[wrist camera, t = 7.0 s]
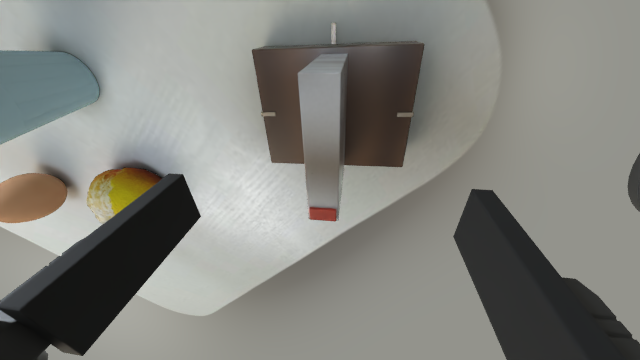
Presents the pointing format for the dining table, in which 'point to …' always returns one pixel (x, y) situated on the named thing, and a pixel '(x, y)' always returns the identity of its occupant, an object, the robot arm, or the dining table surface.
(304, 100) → the brushed metal plate
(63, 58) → the cup
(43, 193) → the egg
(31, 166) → the dining table surface
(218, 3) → the dining table surface
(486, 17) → the dining table surface
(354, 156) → the brown rectangular board
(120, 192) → the fruit
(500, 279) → the robot arm
